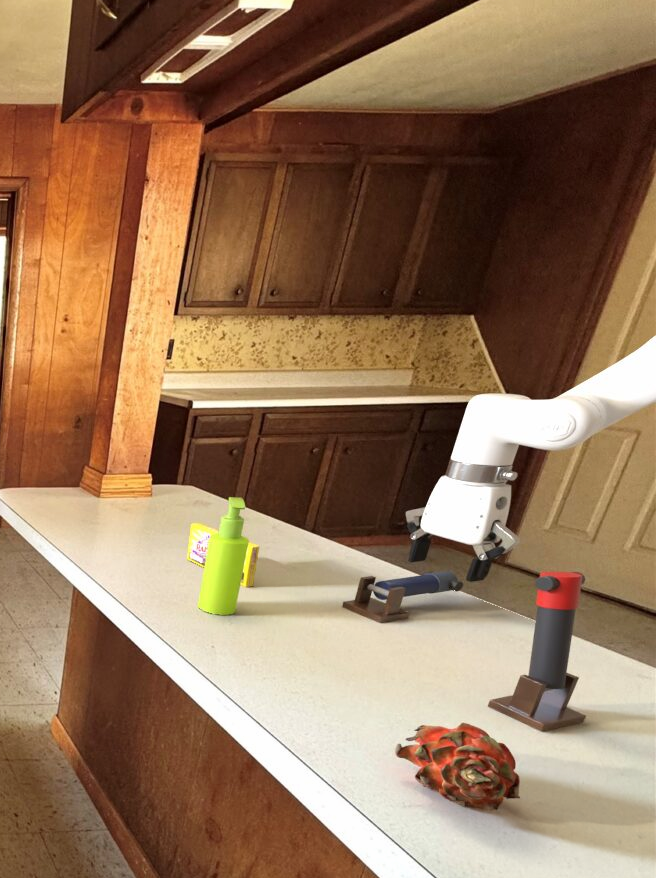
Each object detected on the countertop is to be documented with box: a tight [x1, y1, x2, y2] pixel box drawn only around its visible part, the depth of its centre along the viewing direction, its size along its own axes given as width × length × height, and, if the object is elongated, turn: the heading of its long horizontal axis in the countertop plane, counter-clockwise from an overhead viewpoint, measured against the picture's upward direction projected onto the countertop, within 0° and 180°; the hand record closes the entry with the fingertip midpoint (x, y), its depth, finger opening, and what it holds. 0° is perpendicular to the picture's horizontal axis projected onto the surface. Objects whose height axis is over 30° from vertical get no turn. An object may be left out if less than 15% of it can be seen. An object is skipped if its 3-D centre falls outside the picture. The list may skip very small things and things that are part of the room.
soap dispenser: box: [197, 496, 250, 616], centre depth 113 cm, size 6×7×20 cm
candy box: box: [186, 522, 261, 588], centre depth 131 cm, size 16×2×8 cm, turn 14°
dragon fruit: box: [394, 722, 521, 811], centre depth 70 cm, size 8×8×12 cm
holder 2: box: [487, 672, 587, 732], centre depth 83 cm, size 6×7×6 cm
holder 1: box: [341, 575, 411, 624], centre depth 112 cm, size 6×7×6 cm
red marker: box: [527, 570, 586, 691], centre depth 81 cm, size 15×5×4 cm
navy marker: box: [367, 570, 464, 601], centre depth 113 cm, size 15×5×4 cm, turn 104°
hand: (444, 570), depth 114 cm, fingers open, 9 cm apart
